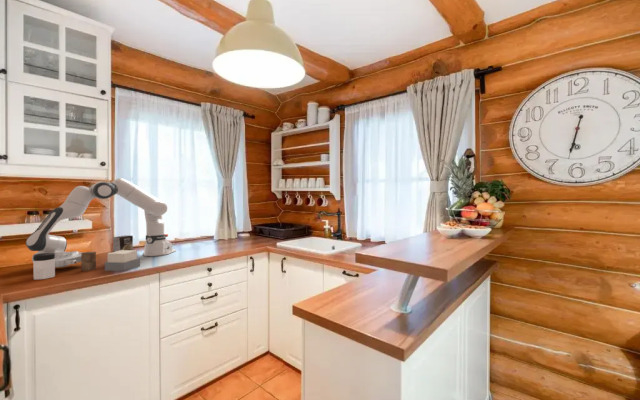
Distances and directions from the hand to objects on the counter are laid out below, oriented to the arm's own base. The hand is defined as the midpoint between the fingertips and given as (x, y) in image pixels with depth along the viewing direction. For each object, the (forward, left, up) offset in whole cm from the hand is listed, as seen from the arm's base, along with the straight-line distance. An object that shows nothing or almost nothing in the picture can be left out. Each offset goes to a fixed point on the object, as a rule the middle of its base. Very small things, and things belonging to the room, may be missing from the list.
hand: (82, 260), depth 162 cm
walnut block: (0, +4, -5) cm, 7 cm away
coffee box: (-22, +6, -6) cm, 23 cm away
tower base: (-6, +20, -6) cm, 21 cm away
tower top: (-6, +20, -1) cm, 21 cm away
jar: (+16, -5, -6) cm, 18 cm away
